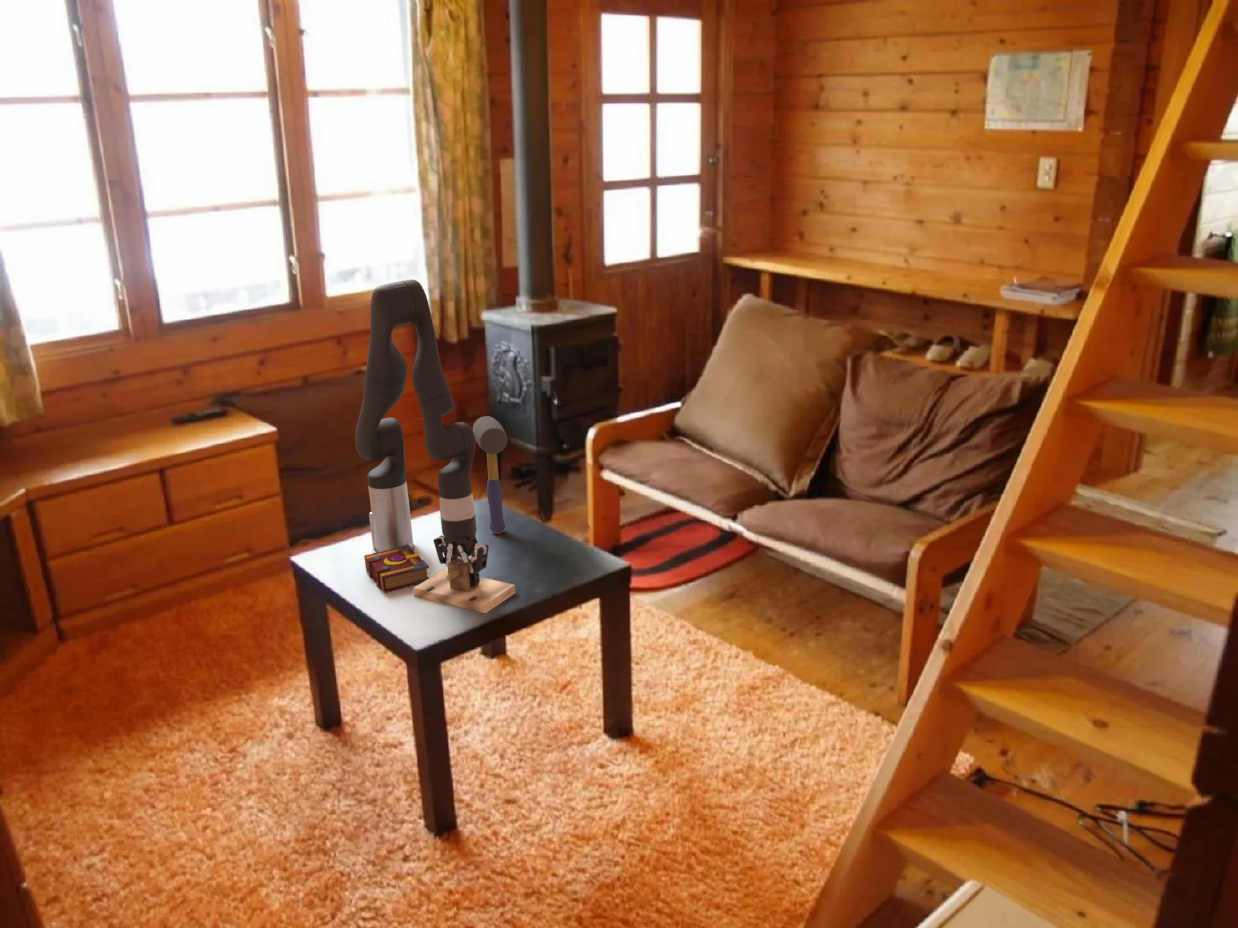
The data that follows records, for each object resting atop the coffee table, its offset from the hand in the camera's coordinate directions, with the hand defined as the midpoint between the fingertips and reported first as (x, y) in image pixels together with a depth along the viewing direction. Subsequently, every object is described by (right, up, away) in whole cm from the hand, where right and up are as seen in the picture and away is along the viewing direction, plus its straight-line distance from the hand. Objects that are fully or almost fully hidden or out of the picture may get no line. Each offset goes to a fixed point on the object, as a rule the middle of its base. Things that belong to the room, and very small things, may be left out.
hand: (464, 583), depth 233 cm
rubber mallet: (+3, +9, +35) cm, 37 cm away
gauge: (0, -1, 0) cm, 1 cm away
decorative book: (-18, 0, +13) cm, 22 cm away
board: (0, -3, +1) cm, 3 cm away
